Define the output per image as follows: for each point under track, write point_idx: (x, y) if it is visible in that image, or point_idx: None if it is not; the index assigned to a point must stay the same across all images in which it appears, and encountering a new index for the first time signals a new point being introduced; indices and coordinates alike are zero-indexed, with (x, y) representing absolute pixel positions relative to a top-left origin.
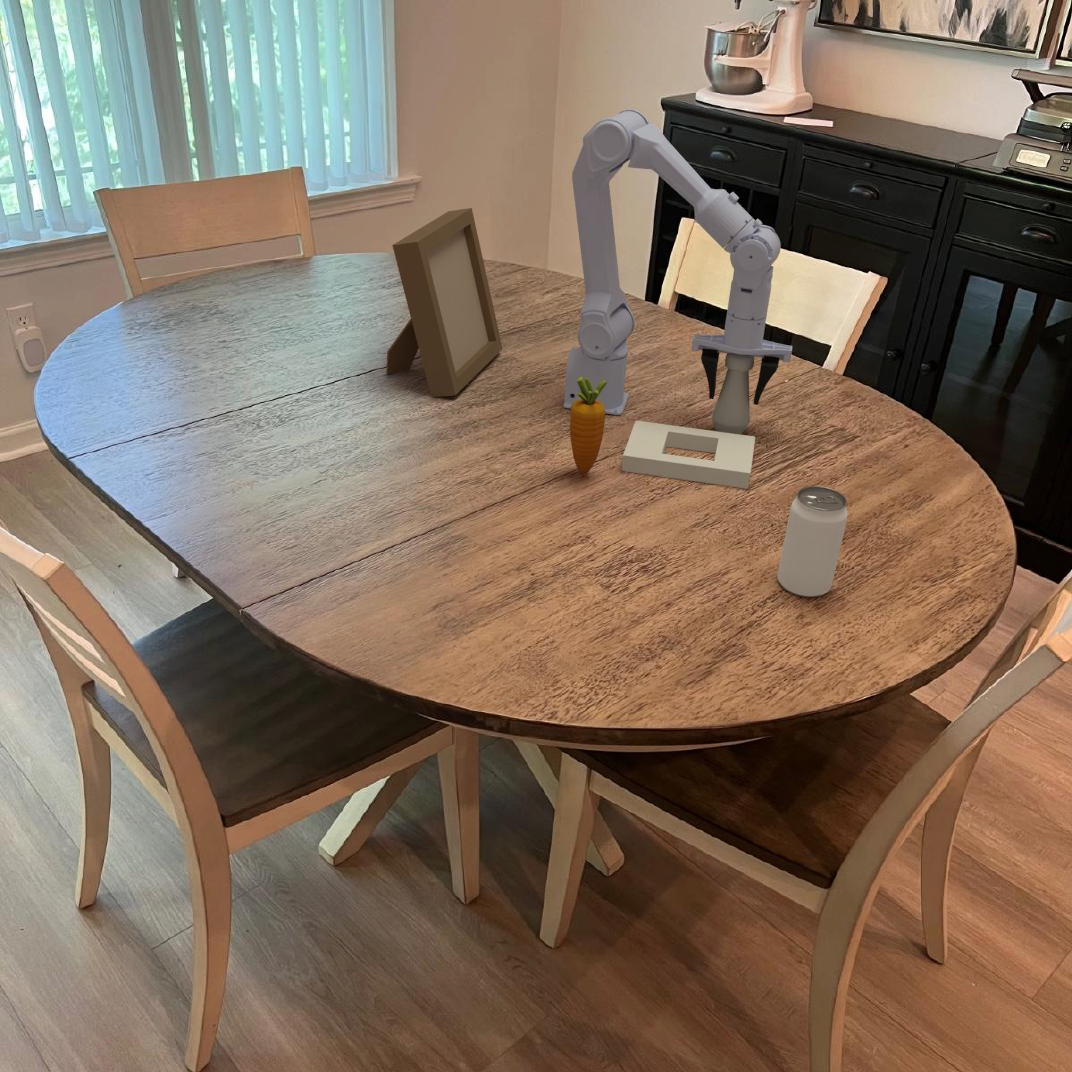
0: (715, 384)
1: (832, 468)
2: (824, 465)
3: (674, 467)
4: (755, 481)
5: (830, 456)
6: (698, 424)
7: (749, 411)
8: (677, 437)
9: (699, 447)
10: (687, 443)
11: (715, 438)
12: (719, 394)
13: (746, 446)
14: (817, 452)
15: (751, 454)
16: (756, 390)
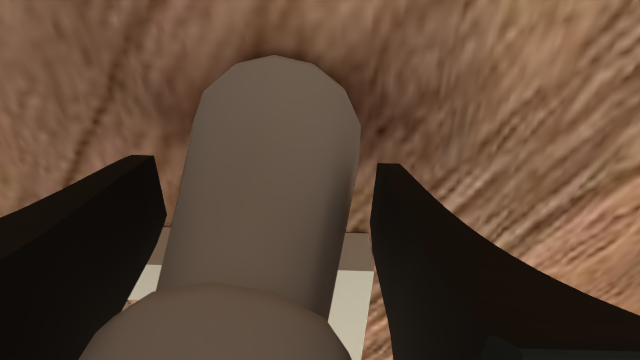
0: (127, 212)
1: (592, 267)
2: (574, 257)
3: None
4: (367, 351)
5: (621, 205)
6: (157, 83)
7: (354, 181)
8: None
9: None
10: None
11: None
12: (181, 181)
13: (343, 326)
14: (586, 190)
15: (356, 357)
16: (383, 292)
